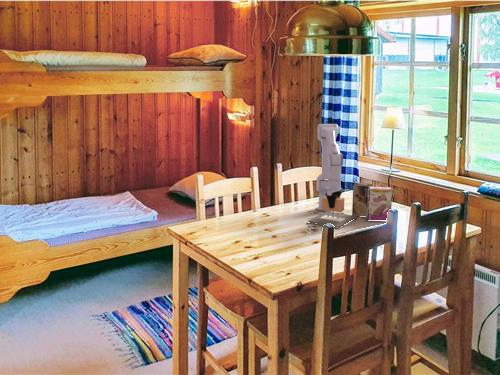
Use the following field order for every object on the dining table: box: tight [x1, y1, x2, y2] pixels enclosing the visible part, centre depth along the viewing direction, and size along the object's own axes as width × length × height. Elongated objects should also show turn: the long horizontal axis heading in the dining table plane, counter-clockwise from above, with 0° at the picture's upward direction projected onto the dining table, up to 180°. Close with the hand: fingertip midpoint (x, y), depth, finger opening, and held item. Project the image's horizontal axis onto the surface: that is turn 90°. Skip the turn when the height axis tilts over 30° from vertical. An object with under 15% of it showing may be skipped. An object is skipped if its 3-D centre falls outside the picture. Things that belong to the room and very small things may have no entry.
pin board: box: [307, 211, 358, 229], centre depth 273 cm, size 20×16×5 cm
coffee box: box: [351, 182, 374, 216], centre depth 280 cm, size 9×6×16 cm
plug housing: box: [322, 196, 345, 213], centre depth 272 cm, size 5×10×6 cm, turn 63°
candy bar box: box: [365, 186, 394, 221], centre depth 272 cm, size 11×5×16 cm, turn 84°
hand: (333, 206), depth 272 cm, fingers closed on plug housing, 5 cm apart
